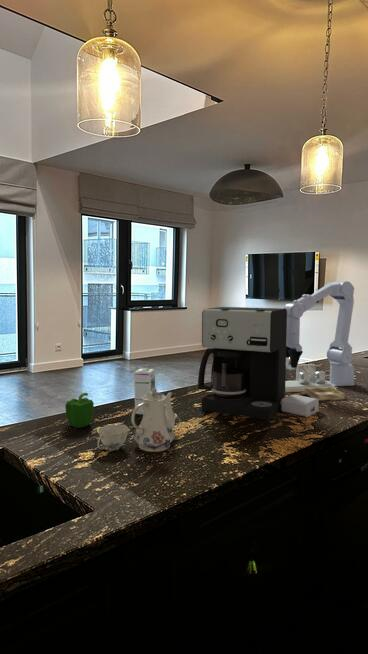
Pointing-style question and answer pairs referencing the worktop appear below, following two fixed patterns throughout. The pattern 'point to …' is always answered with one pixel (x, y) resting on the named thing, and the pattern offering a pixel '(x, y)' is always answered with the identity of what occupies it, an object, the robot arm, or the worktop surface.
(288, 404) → the charger
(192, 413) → the worktop surface
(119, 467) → the worktop surface
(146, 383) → the syrup box
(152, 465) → the worktop surface
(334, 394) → the tray
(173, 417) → the chinaware
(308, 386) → the scale
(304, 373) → the spacer
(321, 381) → the cylinder
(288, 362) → the cylinder
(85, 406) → the bell pepper
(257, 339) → the coffee maker
